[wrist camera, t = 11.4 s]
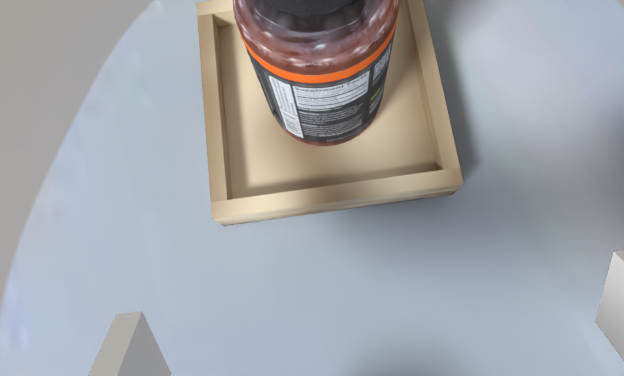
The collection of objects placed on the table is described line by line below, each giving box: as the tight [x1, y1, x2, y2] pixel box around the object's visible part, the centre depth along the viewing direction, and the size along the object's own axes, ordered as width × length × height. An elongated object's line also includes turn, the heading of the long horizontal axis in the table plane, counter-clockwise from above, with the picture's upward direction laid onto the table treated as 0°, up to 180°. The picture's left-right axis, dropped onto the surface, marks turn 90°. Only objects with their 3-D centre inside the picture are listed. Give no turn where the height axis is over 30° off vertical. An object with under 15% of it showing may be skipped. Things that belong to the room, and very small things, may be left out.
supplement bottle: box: [233, 0, 400, 146], centre depth 18 cm, size 6×6×11 cm
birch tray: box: [196, 0, 464, 226], centre depth 24 cm, size 12×12×2 cm
